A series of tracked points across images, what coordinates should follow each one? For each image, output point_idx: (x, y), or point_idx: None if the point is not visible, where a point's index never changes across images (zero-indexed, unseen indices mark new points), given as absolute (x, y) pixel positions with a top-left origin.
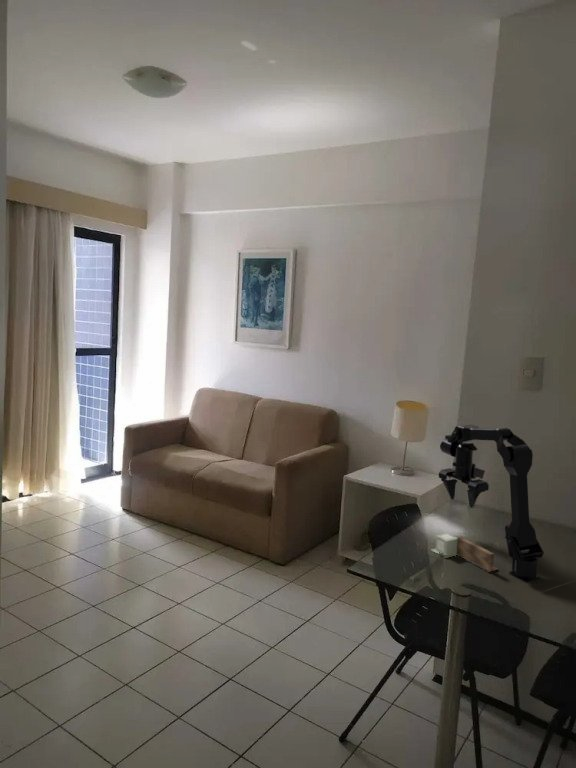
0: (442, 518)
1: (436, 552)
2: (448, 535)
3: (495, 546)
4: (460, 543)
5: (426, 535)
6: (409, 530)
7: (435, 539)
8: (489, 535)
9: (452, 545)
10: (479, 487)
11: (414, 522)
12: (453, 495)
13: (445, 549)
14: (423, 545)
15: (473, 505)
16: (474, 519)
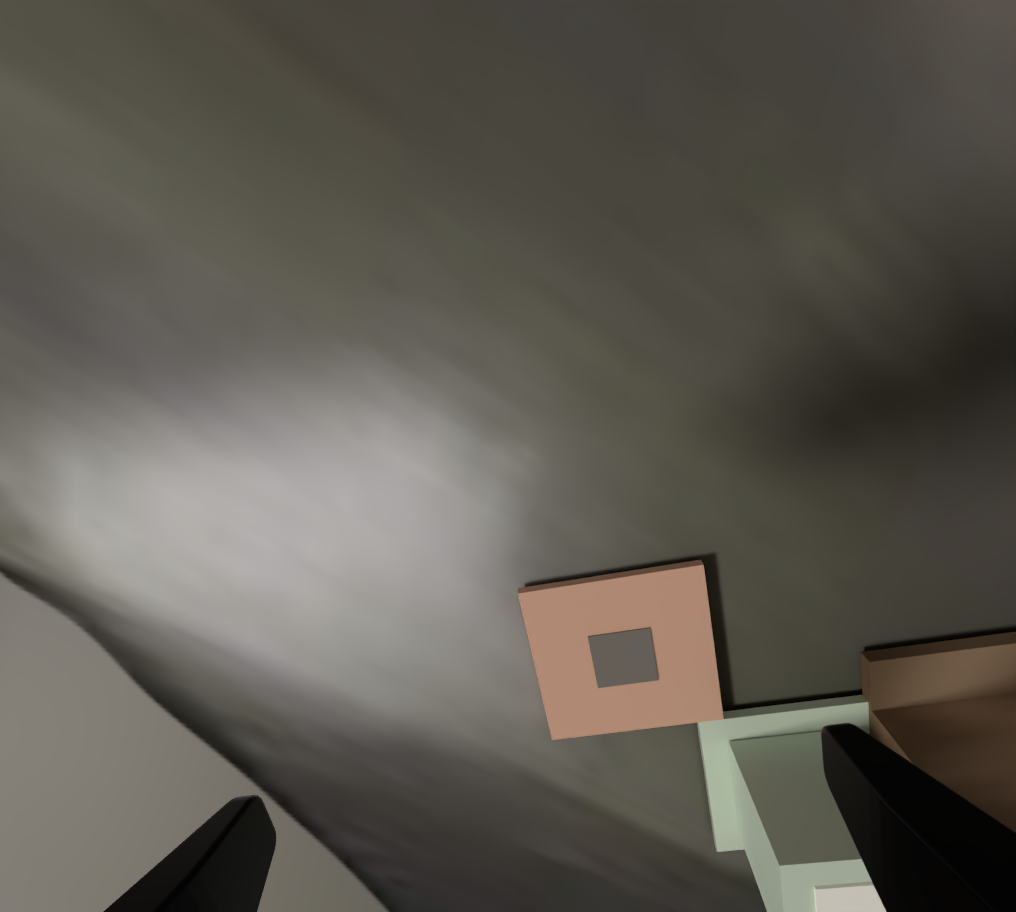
0: (108, 429)
1: None
2: (844, 894)
3: (867, 307)
4: None
5: (445, 736)
6: (328, 796)
7: (556, 735)
8: (611, 195)
9: None
10: None
11: (180, 695)
12: (215, 892)
13: None
14: (605, 835)
15: (901, 766)
16: (159, 87)
